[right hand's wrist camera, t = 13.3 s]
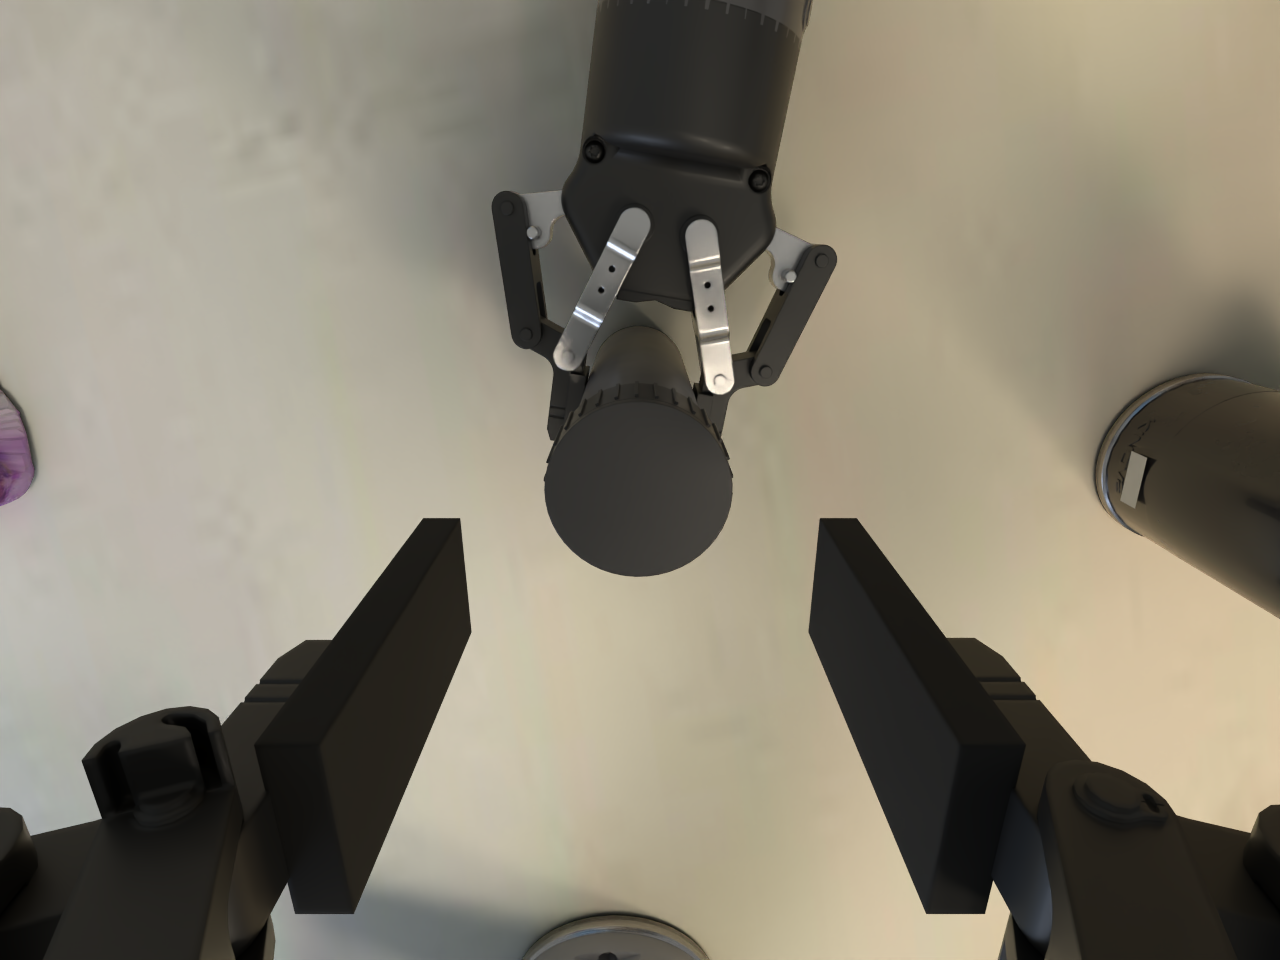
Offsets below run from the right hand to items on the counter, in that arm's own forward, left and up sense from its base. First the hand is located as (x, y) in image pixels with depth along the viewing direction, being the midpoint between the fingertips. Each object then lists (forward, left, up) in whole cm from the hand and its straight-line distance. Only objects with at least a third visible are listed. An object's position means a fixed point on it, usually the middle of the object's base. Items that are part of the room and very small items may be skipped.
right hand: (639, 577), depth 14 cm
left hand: (-1, +2, -16) cm, 17 cm away
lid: (0, 0, -6) cm, 6 cm away
